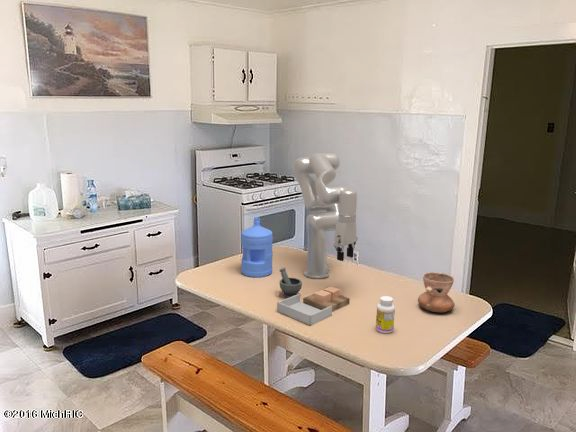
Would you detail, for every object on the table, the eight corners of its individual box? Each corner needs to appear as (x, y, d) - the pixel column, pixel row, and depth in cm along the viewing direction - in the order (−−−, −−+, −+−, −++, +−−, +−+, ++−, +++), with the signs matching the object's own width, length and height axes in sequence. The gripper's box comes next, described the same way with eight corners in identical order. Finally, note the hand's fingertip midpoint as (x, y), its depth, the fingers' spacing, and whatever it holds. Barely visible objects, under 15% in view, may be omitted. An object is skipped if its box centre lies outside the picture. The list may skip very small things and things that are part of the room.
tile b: (321, 296, 209) (322, 290, 208) (331, 299, 206) (331, 293, 205) (314, 299, 205) (314, 293, 205) (323, 303, 202) (323, 296, 201)
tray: (298, 302, 209) (299, 293, 208) (331, 315, 197) (332, 306, 196) (277, 311, 199) (277, 302, 198) (310, 325, 187) (310, 316, 186)
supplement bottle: (373, 326, 188) (375, 294, 185) (390, 325, 188) (392, 294, 185) (378, 334, 181) (380, 302, 178) (395, 333, 182) (397, 301, 179)
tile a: (330, 292, 213) (330, 286, 212) (339, 296, 210) (340, 289, 209) (323, 295, 210) (323, 289, 209) (332, 299, 206) (332, 292, 206)
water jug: (254, 265, 255) (254, 212, 248) (278, 271, 246) (279, 217, 239) (234, 273, 243) (234, 218, 236) (259, 280, 234) (259, 223, 227)
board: (324, 294, 217) (324, 289, 217) (349, 303, 208) (349, 298, 207) (303, 303, 208) (303, 298, 207) (328, 313, 198) (328, 307, 198)
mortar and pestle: (305, 296, 215) (306, 270, 213) (291, 302, 209) (292, 275, 206) (287, 289, 223) (287, 264, 220) (272, 295, 216) (273, 269, 213)
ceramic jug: (441, 320, 194) (445, 286, 191) (409, 308, 204) (412, 276, 201) (461, 307, 207) (465, 276, 204) (430, 297, 217) (433, 267, 213)
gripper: (351, 213, 217) (350, 252, 221) (327, 220, 205) (325, 261, 209) (365, 216, 212) (363, 256, 216) (341, 223, 199) (339, 265, 204)
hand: (345, 258), depth 212 cm, fingers open, 6 cm apart
